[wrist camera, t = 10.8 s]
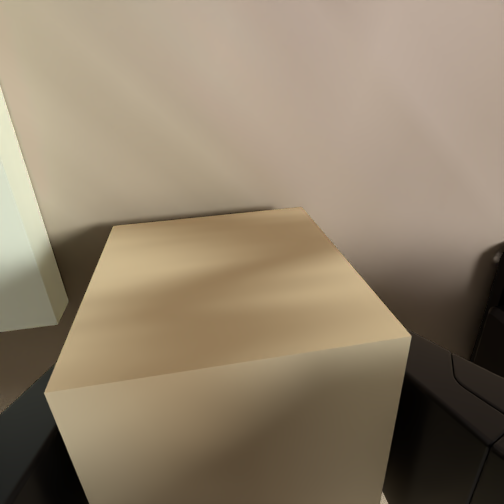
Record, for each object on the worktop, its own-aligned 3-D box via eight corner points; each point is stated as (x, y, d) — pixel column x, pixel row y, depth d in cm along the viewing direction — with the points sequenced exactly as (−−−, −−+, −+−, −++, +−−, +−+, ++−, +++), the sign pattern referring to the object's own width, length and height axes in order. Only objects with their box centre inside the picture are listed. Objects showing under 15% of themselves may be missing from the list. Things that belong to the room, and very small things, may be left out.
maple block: (301, 206, 9) (412, 336, 5) (299, 347, 11) (374, 528, 7) (113, 226, 9) (44, 392, 4) (146, 371, 11) (123, 585, 6)
